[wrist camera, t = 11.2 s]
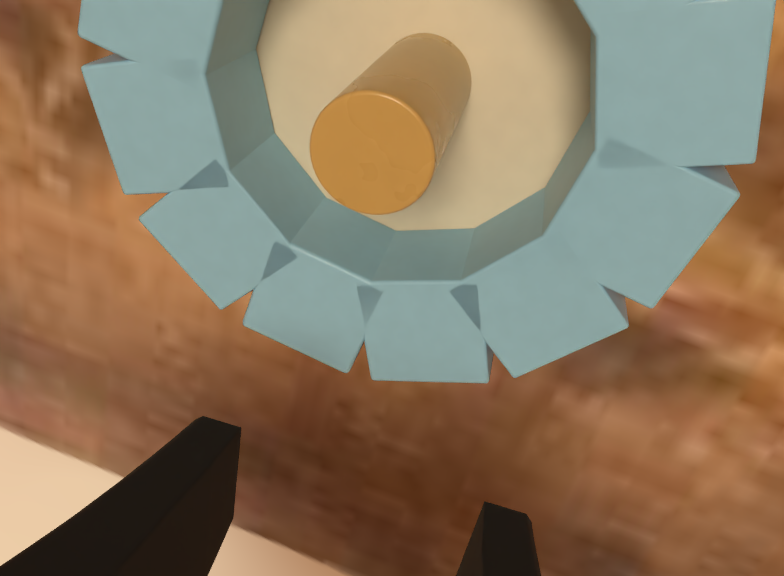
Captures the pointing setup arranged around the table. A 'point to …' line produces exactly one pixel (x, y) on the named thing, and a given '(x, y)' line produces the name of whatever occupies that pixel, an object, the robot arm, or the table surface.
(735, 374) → the table surface
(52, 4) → the table surface
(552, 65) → the peg stand
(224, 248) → the ring
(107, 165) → the table surface
